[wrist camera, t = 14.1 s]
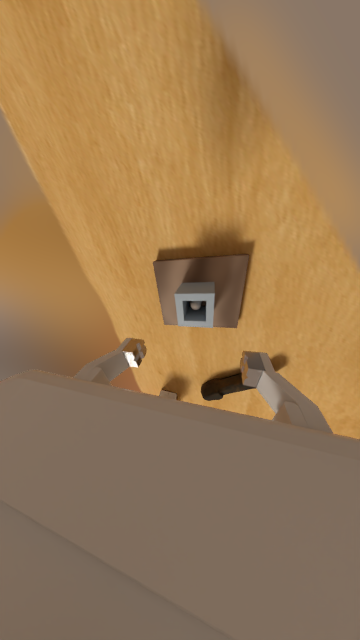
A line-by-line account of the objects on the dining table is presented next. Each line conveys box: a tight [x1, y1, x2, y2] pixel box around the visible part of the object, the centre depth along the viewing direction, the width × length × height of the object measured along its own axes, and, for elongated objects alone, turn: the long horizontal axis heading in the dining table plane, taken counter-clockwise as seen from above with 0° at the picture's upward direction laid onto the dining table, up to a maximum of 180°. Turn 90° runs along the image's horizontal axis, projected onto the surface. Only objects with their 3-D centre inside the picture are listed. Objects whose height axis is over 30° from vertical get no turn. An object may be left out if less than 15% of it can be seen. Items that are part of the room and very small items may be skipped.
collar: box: [174, 282, 215, 328], centre depth 20 cm, size 5×5×5 cm
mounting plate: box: [153, 254, 249, 328], centre depth 21 cm, size 14×12×5 cm
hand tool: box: [201, 374, 256, 401], centre depth 32 cm, size 19×4×5 cm, turn 129°
